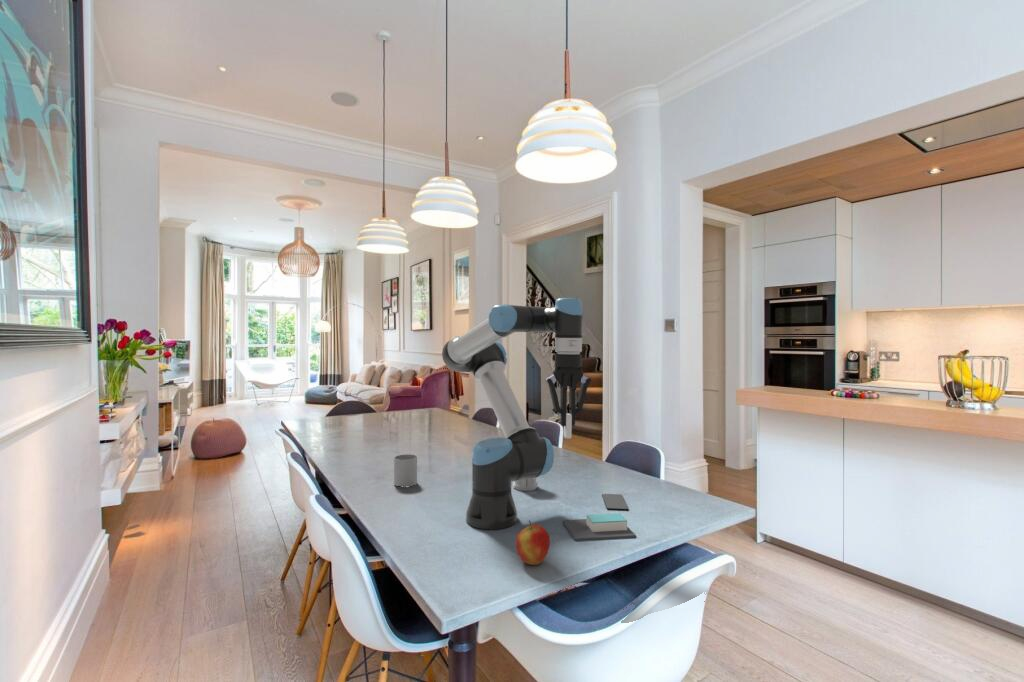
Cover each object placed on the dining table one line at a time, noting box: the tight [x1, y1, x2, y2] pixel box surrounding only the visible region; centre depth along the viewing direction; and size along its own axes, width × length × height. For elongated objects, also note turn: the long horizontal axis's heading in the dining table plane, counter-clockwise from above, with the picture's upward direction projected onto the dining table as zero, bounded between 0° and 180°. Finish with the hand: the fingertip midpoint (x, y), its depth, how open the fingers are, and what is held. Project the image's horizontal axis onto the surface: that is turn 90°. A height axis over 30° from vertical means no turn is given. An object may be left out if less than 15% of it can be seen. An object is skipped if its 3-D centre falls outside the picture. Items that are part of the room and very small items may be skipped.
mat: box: [562, 518, 637, 542], centre depth 133 cm, size 17×13×1 cm
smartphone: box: [601, 493, 630, 512], centre depth 155 cm, size 7×1×15 cm
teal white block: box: [586, 512, 628, 532], centre depth 133 cm, size 3×6×10 cm
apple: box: [515, 519, 551, 566], centre depth 113 cm, size 8×8×10 cm
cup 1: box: [393, 453, 418, 488], centre depth 174 cm, size 8×8×10 cm
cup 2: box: [513, 477, 538, 492], centre depth 171 cm, size 10×9×12 cm
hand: (567, 437), depth 132 cm, fingers closed
